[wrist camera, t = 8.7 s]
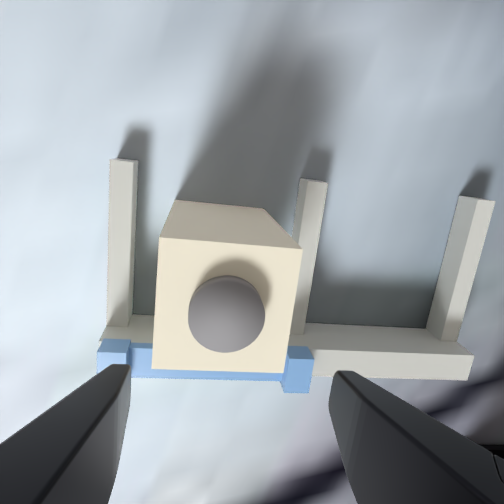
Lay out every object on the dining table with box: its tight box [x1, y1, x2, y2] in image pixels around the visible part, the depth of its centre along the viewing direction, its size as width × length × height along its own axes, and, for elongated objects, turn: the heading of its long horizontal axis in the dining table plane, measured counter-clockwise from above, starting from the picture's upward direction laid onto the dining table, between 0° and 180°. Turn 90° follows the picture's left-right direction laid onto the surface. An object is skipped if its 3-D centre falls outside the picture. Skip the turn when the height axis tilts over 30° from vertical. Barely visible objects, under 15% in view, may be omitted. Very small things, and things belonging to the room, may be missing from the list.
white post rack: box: [97, 158, 495, 393], centre depth 19 cm, size 19×10×4 cm, turn 83°
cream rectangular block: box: [151, 200, 303, 373], centre depth 16 cm, size 4×4×9 cm
